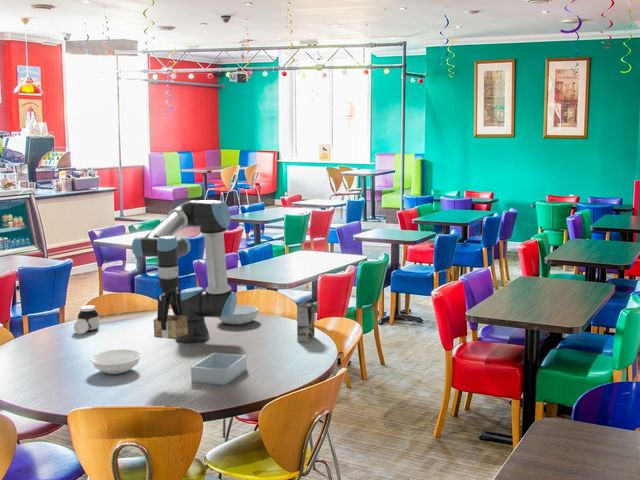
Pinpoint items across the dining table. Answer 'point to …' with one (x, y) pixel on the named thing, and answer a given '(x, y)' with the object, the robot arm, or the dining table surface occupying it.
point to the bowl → (116, 361)
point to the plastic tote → (219, 369)
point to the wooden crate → (172, 327)
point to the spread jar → (87, 320)
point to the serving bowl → (241, 315)
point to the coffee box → (305, 322)
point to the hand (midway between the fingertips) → (171, 334)
